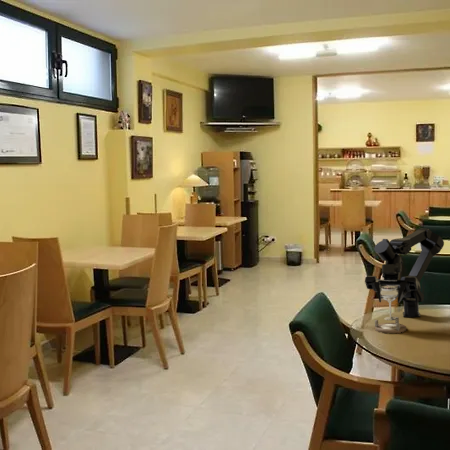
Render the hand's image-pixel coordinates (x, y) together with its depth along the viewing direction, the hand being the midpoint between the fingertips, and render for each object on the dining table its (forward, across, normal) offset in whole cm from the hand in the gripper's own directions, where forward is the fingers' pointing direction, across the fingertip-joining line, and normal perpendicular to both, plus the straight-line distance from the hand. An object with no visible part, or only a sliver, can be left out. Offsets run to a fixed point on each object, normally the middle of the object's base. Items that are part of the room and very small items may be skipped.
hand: (389, 302), depth 209 cm
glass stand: (+7, 0, +8) cm, 11 cm away
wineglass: (+4, 0, +6) cm, 7 cm away
